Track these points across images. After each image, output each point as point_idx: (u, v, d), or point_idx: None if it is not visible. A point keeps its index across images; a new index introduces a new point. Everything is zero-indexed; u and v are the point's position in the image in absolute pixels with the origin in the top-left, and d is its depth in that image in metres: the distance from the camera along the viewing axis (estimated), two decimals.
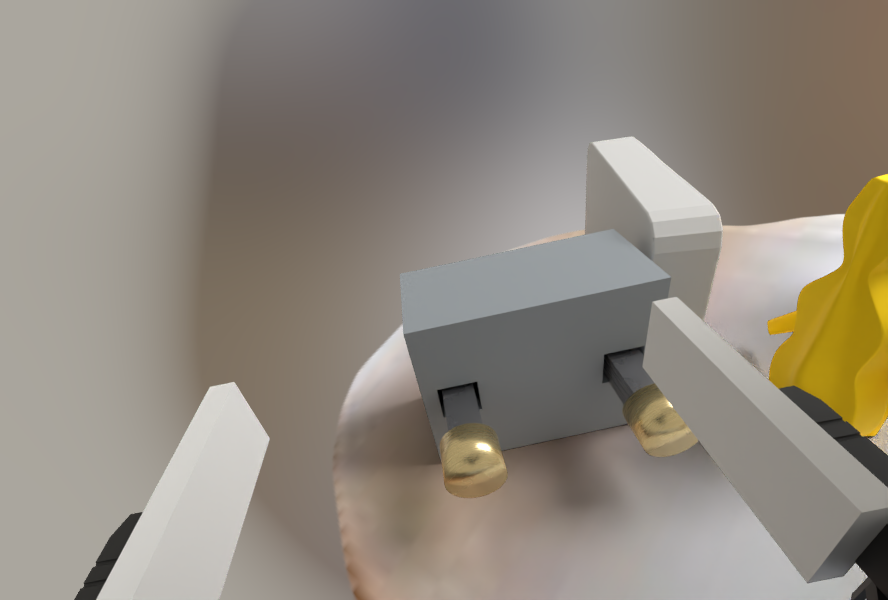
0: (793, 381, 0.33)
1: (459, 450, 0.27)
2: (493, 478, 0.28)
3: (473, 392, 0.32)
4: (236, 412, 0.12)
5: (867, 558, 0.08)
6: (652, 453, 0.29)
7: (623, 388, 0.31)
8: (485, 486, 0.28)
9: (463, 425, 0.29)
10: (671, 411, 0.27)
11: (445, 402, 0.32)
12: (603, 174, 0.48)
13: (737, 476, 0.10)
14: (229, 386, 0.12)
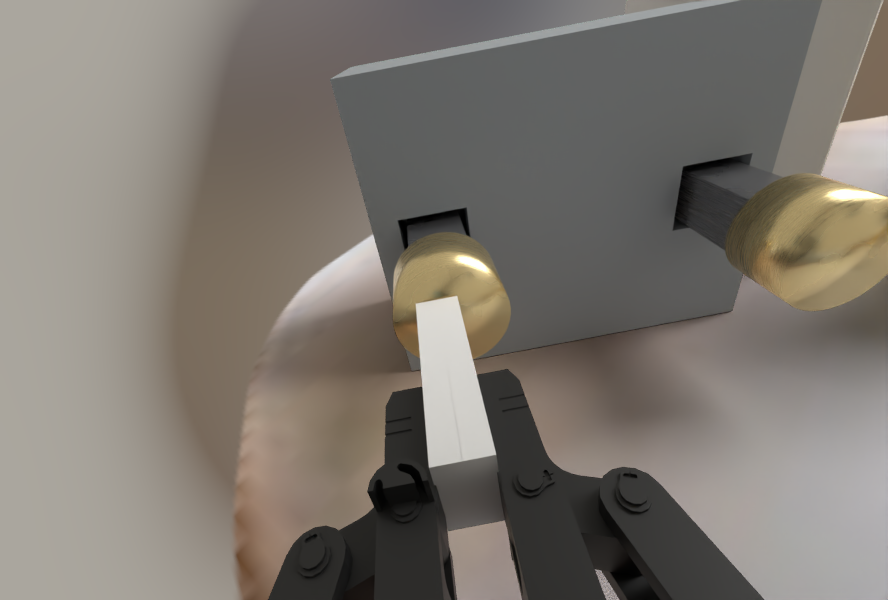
0: None
1: (422, 261, 0.15)
2: (485, 321, 0.15)
3: (457, 215, 0.20)
4: None
5: (500, 502, 0.09)
6: (793, 300, 0.15)
7: (721, 212, 0.18)
8: (470, 339, 0.16)
9: (433, 234, 0.16)
10: (850, 196, 0.13)
11: (410, 228, 0.19)
12: (654, 1, 0.35)
13: None
14: (434, 302, 0.14)
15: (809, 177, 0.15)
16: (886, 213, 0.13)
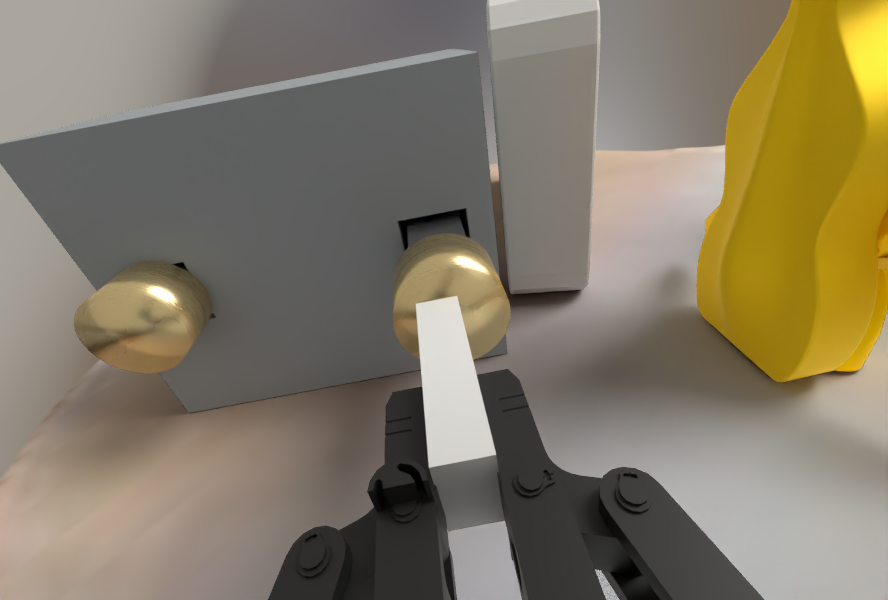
0: (719, 275, 0.20)
1: (102, 288, 0.17)
2: (164, 338, 0.18)
3: None
4: None
5: (500, 502, 0.10)
6: None
7: None
8: (157, 352, 0.18)
9: (137, 263, 0.19)
10: (433, 264, 0.14)
11: None
12: None
13: None
14: (434, 302, 0.14)
15: (438, 239, 0.16)
16: (466, 280, 0.14)
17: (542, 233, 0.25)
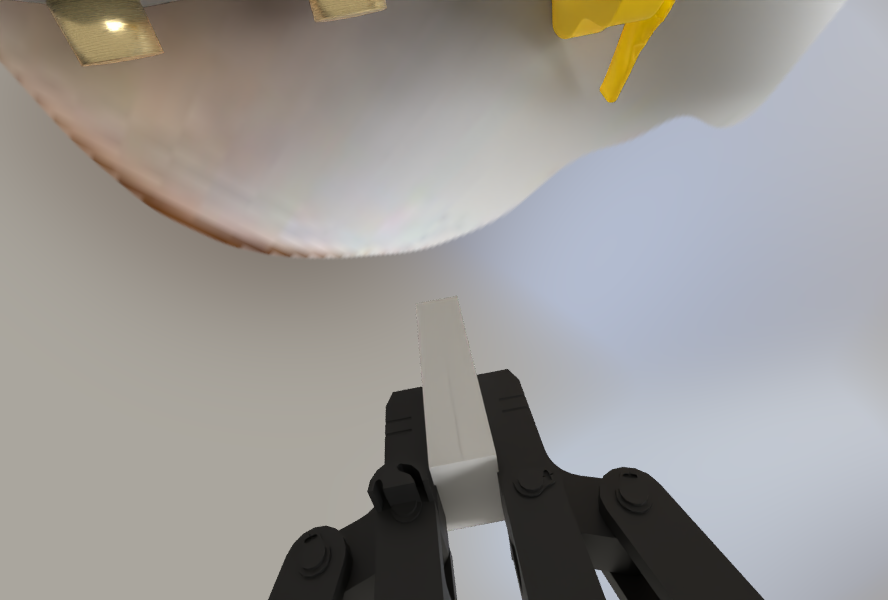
0: None
1: (79, 41, 0.22)
2: (147, 54, 0.25)
3: None
4: None
5: (500, 502, 0.09)
6: (331, 20, 0.26)
7: None
8: (142, 56, 0.25)
9: None
10: (339, 3, 0.22)
11: None
12: None
13: None
14: (434, 302, 0.14)
15: None
16: (361, 11, 0.23)
17: None
